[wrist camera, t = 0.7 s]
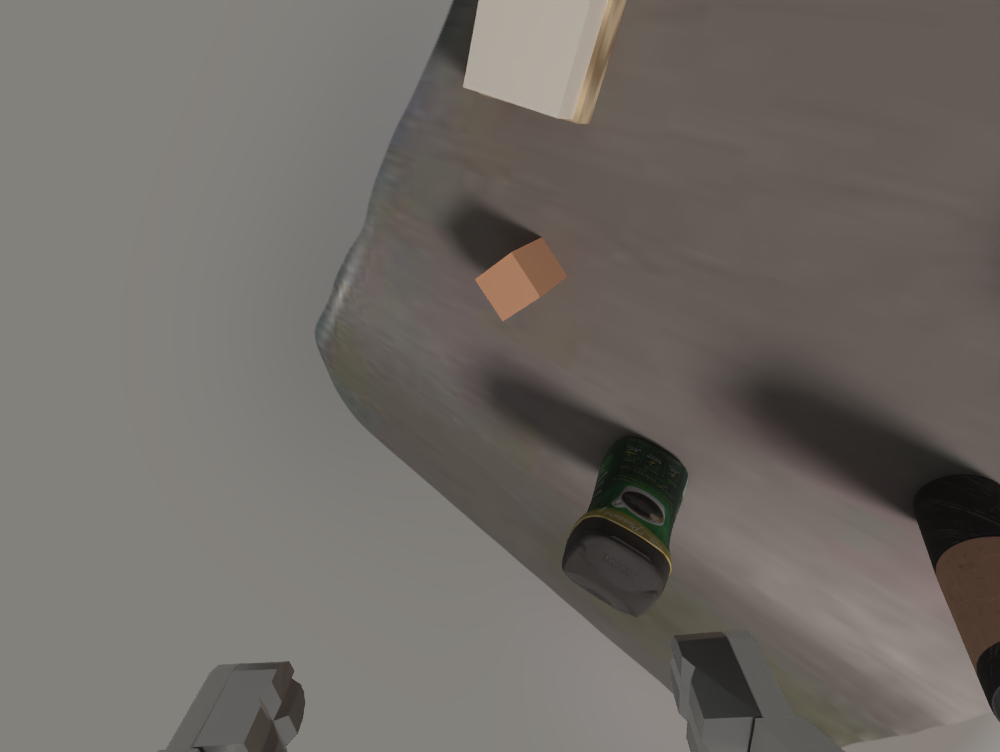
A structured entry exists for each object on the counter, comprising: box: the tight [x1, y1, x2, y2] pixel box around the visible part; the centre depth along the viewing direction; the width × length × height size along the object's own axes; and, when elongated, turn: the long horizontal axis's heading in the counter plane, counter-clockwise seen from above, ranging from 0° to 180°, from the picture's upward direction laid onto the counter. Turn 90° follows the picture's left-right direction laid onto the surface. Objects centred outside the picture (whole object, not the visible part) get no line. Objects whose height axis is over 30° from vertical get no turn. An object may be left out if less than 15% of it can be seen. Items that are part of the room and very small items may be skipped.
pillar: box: [475, 237, 567, 321], centre depth 50 cm, size 5×5×8 cm
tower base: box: [479, 0, 626, 124], centre depth 43 cm, size 10×10×4 cm
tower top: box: [463, 0, 608, 119], centre depth 39 cm, size 9×9×4 cm
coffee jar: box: [562, 437, 688, 617], centre depth 50 cm, size 10×8×19 cm
